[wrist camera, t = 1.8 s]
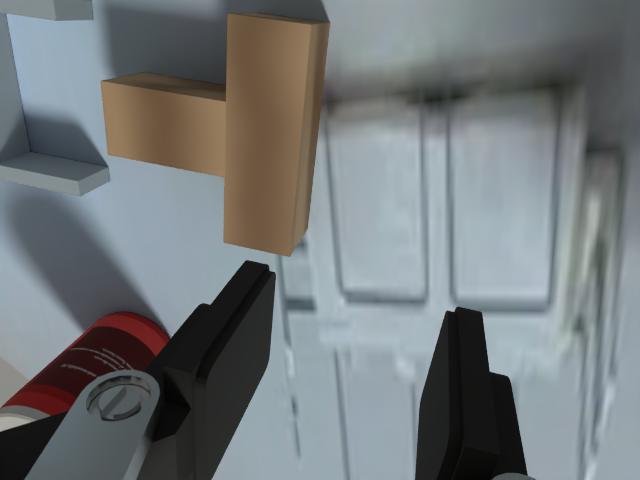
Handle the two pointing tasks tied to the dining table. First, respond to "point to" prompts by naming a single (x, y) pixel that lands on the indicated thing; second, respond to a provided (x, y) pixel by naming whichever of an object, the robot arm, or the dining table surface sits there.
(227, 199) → the t block
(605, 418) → the dining table surface
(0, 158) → the bracket
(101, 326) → the canned food
